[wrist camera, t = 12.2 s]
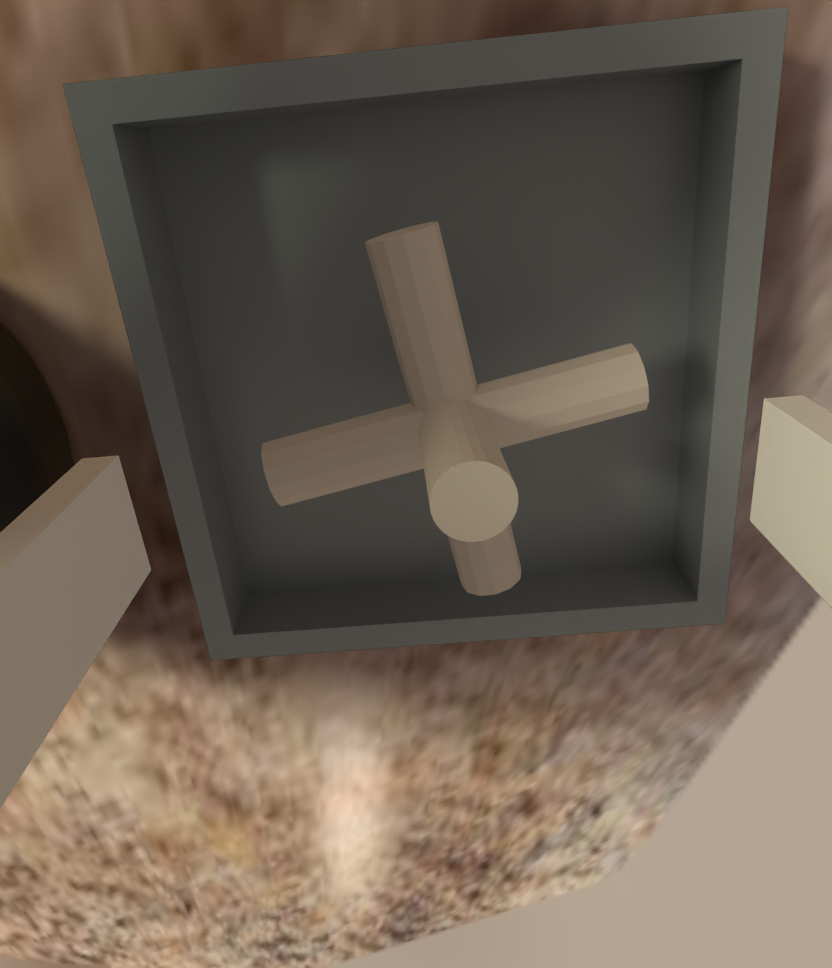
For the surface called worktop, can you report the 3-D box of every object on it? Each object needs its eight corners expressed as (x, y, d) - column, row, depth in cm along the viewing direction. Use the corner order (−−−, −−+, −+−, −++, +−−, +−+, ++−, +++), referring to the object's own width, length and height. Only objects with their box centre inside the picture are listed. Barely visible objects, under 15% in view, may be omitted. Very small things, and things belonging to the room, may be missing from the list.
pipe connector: (607, 469, 25) (737, 638, 16) (338, 540, 26) (317, 740, 17) (557, 172, 21) (691, 173, 12) (240, 264, 22) (140, 330, 13)
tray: (233, 606, 28) (211, 660, 25) (115, 96, 21) (62, 83, 18) (690, 572, 28) (724, 623, 25) (732, 30, 20) (788, 6, 17)
